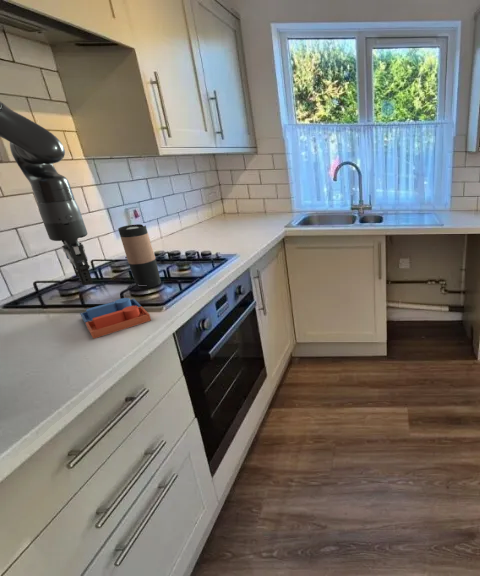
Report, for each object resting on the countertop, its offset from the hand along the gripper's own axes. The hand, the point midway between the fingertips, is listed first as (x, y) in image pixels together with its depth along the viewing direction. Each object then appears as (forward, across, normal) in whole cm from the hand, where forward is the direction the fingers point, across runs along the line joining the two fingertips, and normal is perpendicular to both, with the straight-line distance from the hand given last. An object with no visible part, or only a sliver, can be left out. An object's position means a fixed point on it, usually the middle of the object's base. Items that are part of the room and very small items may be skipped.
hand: (84, 280), depth 95 cm
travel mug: (+12, -18, +17) cm, 28 cm away
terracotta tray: (+12, +8, +3) cm, 15 cm away
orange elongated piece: (+11, +8, +3) cm, 14 cm away
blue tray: (+12, 0, +3) cm, 12 cm away
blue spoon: (+11, 0, +3) cm, 12 cm away
